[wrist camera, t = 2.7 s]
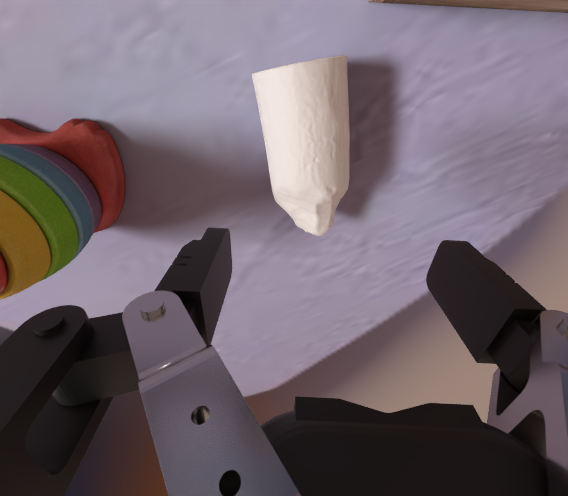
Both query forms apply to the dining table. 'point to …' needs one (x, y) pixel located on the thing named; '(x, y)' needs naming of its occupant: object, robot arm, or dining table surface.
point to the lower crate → (493, 4)
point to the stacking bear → (53, 197)
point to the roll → (306, 137)
